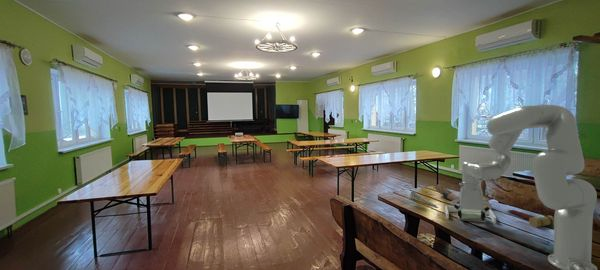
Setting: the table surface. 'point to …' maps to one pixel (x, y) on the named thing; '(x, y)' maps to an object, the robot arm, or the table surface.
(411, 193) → the caliper
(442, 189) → the antique flintlock pistol
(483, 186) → the hand bell
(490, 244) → the table surface
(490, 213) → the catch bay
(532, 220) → the gavel
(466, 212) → the pale green block
